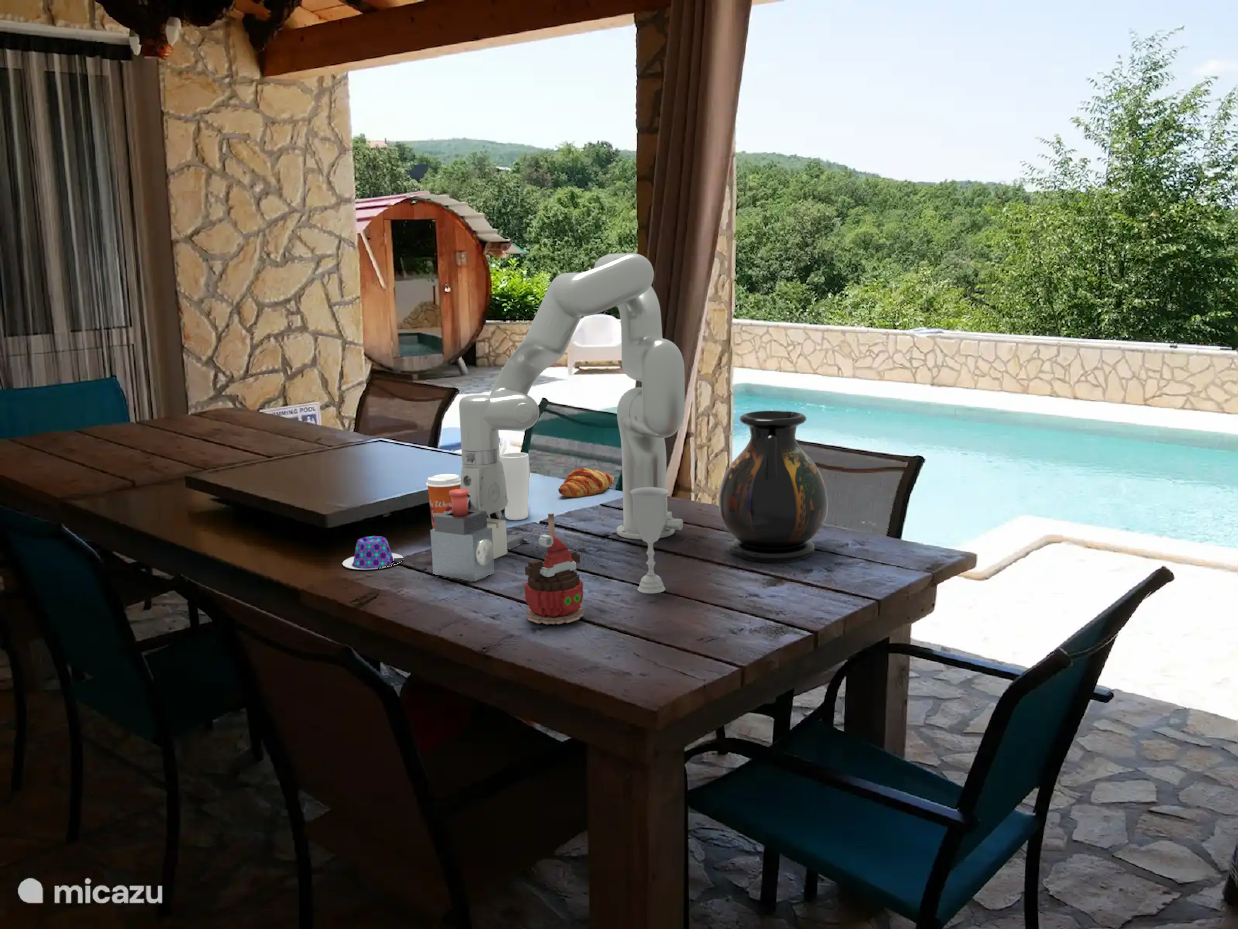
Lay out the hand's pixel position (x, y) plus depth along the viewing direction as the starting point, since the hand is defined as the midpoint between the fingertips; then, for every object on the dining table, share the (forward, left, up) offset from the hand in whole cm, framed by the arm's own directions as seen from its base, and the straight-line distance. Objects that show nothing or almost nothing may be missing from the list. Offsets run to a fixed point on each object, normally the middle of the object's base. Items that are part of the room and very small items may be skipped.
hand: (485, 543), depth 218 cm
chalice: (-41, +6, -3) cm, 41 cm away
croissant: (+13, -61, -3) cm, 62 cm away
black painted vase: (-52, -25, -3) cm, 58 cm away
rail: (0, -4, -3) cm, 5 cm away
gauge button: (-4, +12, +9) cm, 16 cm away
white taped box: (0, 0, -3) cm, 3 cm away
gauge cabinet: (-4, +13, -3) cm, 13 cm away
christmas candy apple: (-34, +27, -3) cm, 43 cm away
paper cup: (+15, -6, -3) cm, 17 cm away
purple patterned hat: (+18, +14, -3) cm, 23 cm away
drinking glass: (+13, -29, -3) cm, 32 cm away
